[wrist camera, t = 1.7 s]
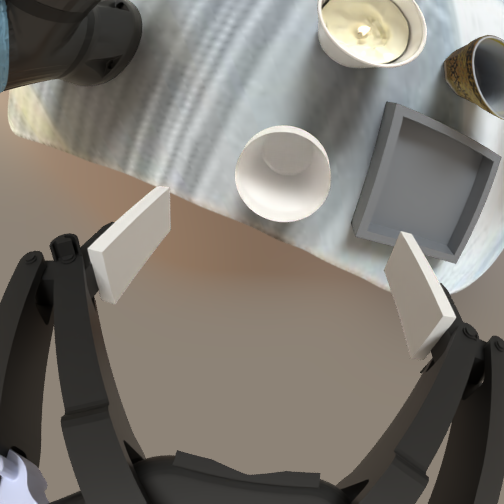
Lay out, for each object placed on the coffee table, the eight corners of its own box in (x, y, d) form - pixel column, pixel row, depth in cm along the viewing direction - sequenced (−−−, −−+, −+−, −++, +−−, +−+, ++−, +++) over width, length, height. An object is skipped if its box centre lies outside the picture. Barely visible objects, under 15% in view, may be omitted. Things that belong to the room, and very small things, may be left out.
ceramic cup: (462, 122, 26) (504, 137, 18) (419, 65, 24) (456, 61, 16) (504, 76, 20) (546, 83, 12) (465, 21, 17) (505, 12, 9)
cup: (326, 179, 35) (337, 218, 25) (260, 187, 38) (244, 228, 28) (316, 113, 31) (326, 123, 21) (246, 123, 33) (222, 139, 23)
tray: (351, 222, 38) (355, 236, 35) (386, 101, 28) (396, 103, 25) (446, 249, 37) (455, 263, 34) (486, 149, 27) (501, 157, 24)
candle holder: (315, 72, 28) (323, 62, 18) (307, 4, 23) (310, -33, 13) (391, 77, 26) (431, 75, 16) (384, 10, 21) (418, -17, 11)
